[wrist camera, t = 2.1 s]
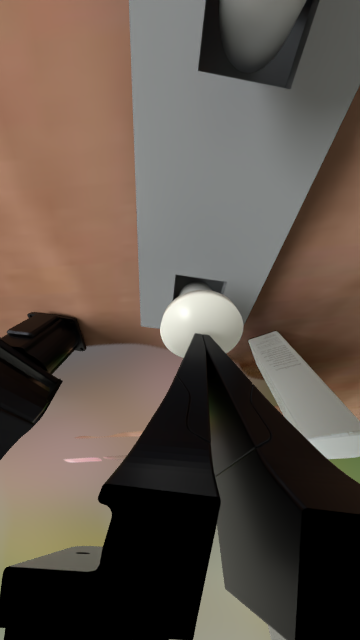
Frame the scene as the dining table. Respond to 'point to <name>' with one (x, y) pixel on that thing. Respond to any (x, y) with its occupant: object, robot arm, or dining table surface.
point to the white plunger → (200, 319)
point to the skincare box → (306, 398)
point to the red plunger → (255, 30)
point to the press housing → (229, 143)
